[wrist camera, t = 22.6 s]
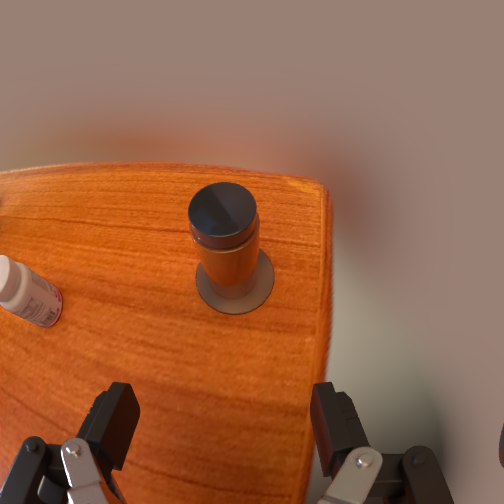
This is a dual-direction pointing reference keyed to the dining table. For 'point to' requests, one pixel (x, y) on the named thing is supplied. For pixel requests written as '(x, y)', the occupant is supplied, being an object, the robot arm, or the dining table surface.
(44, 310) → the pill bottle
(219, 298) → the coaster
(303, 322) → the dining table surface
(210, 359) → the dining table surface
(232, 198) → the spice bottle
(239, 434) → the dining table surface
